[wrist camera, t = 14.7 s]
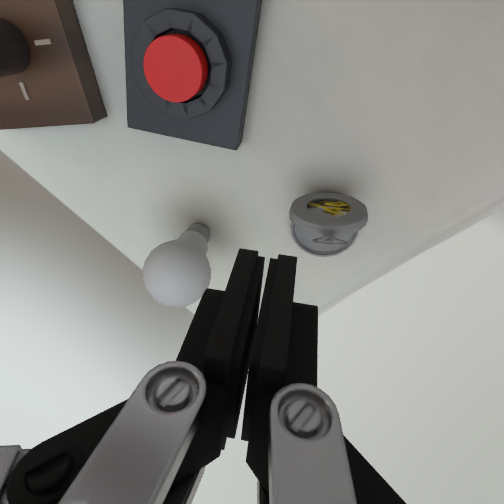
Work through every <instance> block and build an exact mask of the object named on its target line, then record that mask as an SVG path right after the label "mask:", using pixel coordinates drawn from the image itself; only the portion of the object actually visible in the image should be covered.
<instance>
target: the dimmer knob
mask: <svg viewBox="0 0 504 504" xmlns="http://www.w3.org/2000/svg"><path fill="white" fill-rule="evenodd" d="M29 62H30V51H29V47H28V44H27V41H26V39H25V37H24V36H23V34H22V33H21V32H20V30H19V29H18V28H17V27H16V26H15V25H14V24H12V23H11V22H9V21H7V20H5V19H2V18H0V77H4V76H8V75H13V74H17V73H21V72H23V71H24V70H25V69H26V68H27V67H28V65H29Z"/></svg>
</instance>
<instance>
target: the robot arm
mask: <svg viewBox="0 0 504 504" xmlns="http://www.w3.org/2000/svg"><path fill="white" fill-rule="evenodd" d="M264 260H265V257H260V256H258V251H253V250H247V249H239V251H238V254H237V257H236V260H235V263H234V266H233V269H232V272H231V275H230V278H229V281H228V284H227V287H226V290H225V291H220V290H214V289H208V288H207V289H206V290H205V291H204V293H203V296H202V298H201V301H200V303H199V305H198V308H197V310H196V313H195V315H194V318H193V320H192V323H191V325H190V327H189V330H188V333H187V335H186V337H185V340H184V342H183V345H182V347H181V350H180V352H179V354H178V357H177V359H176V361H171V362H166V363H163V364H160V365H157V366H156V367H154V368H153V369H151V370H150V371H149V372H148V373H147V374H146V375H145V376H144V378H142V380H141V382H140V383H139V385H138V386H137V387H136V389H135V390H134V392H133V393H132V395H131V396H130V398H129V399H127V400H125V401H124V402H121V403H119V404H117V405H115V406H114V407H111V408H109V409H108V410H105V411H104V412H101V413H100V414H97V415H96V416H94V417H92V418H90V419H88V420H86V421H84V422H82V423H80V424H78V425H76V426H74V427H72V428H70V429H68V430H66V431H64V432H62V433H60V434H58V435H56V436H54V437H52V438H50V439H48V440H46V441H44V442H42V443H41V444H39V445H37V446H36V447H34V448H32V449H22V448H21V447H20V445H11V446H0V504H191V503H192V500H193V497H194V495H195V493H196V491H197V488H198V486H199V483H200V481H201V478H202V475H203V473H204V469H205V466H206V465H207V464H209V463H210V462H212V461H213V460H215V459H216V458H218V457H219V456H220V452H221V450H224V448H225V443H226V438H227V437H229V438H235V434H236V429H237V424H238V419H239V414H240V409H241V404H242V399H243V394H244V389H245V384H246V379H247V374H248V380H247V389H246V399H245V408H244V418H243V426H242V436H241V440H245V441H249V442H248V449H247V457H246V462H247V464H248V465H249V467H250V468H251V470H252V471H253V473H254V474H255V476H256V477H257V479H258V482H257V504H406V503H405V502H404V501H403V500H402V499H401V498H400V497H399V495H398V494H397V493H396V492H395V491H394V490H393V489H392V488H391V487H390V486H389V484H388V483H387V482H386V481H385V480H384V479H383V478H382V477H381V476H380V475H379V474H378V472H377V471H376V470H375V469H374V468H373V467H372V466H371V465H370V464H369V463H368V462H367V460H366V459H365V458H364V457H363V456H362V455H361V454H360V453H359V452H358V451H357V449H356V448H354V446H353V445H352V444H351V443H350V442H349V441H348V440H347V439H346V437H345V436H344V435H343V432H342V428H341V422H340V418H339V413H338V411H337V408H336V406H335V404H334V402H333V401H332V400H331V398H330V397H329V396H328V395H327V394H326V393H325V392H323V391H322V390H321V389H319V388H317V343H318V342H317V341H318V340H317V338H318V307H317V306H314V305H307V304H301V303H295V302H293V295H294V285H295V275H296V264H297V257H293V256H287V255H280V254H279V255H278V259H273V258H270V263H269V268H268V273H267V278H266V283H265V288H264V293H263V298H262V303H261V308H260V313H259V318H258V312H259V304H260V295H261V287H262V278H263V269H264ZM257 321H258V323H257ZM248 369H249V371H248Z"/></svg>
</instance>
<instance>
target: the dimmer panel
mask: <svg viewBox="0 0 504 504" xmlns="http://www.w3.org/2000/svg"><path fill="white" fill-rule="evenodd" d="M0 18H2V19H5V20H7V21H9V22H11V23H12V24H14V25H15V26H16V27H17V28H18V29H19V30H20V32H21V33H22V34H23V36H24V37H25V39H26V41H27V44H28V47H29V51H30V62H29V65H28V67H27V68H26V69H25V70H24V71H23V72H21V73H17V74H13V75H8V76H4V77H0V130H2V129H16V128H31V127H45V126H60V125H74V124H88V123H95V122H97V121H99V120H101V119H103V118H104V117H106V116H107V114H106V111H105V108H104V105H103V101H102V98H101V95H100V91H99V88H98V85H97V81H96V78H95V75H94V72H93V68H92V65H91V62H90V58H89V55H88V52H87V48H86V45H85V42H84V39H83V35H82V32H81V29H80V25H79V22H78V19H77V15H76V12H75V9H74V5H73V2H72V0H0Z"/></svg>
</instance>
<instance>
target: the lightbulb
mask: <svg viewBox="0 0 504 504" xmlns="http://www.w3.org/2000/svg"><path fill="white" fill-rule="evenodd" d="M209 238H210V233H209V230H208V229H207V228H206V227H205V226H204V225H202V224H192V225H191V226H189V228H188V229H187V230H186V231H185V232H184V233H182V234H181V235H180V237H179V238H178V239H177V240H172V241H169V242H165V243H163V244H161V245H159V246H157V247H156V248H155V249H154V250H152V251H151V253H150V254H149V255H148V257H147V258H146V261H145V264H144V267H143V281H144V285H145V287H146V289H147V291H148V293H149V294H150V295H151V296H152V298H153V299H155V300H156V301H157V302H159V303H160V304H163V305H165V306H169V307H183V306H187V305H190V304H192V303H194V302H196V301H197V300H198V299H200V298H201V296H202V295H203V293H204V291H205V290H206V289H207V288H208V286H209V283H210V279H211V268H210V264H209V261H208V258H207V256H206V252H207V249H208V241H209Z"/></svg>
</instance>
